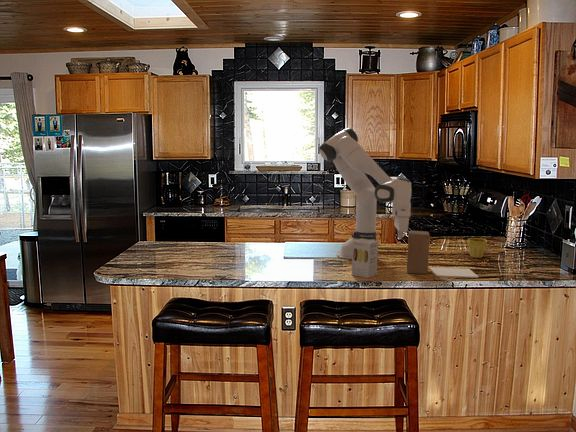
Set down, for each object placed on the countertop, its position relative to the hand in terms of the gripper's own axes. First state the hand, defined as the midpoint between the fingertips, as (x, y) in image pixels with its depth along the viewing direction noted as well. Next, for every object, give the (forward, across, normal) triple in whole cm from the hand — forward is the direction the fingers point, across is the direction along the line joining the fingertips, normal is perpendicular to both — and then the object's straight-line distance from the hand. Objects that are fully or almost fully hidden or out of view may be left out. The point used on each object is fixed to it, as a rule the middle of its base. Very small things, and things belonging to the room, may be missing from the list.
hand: (399, 238), depth 281 cm
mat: (+17, 0, +27) cm, 32 cm away
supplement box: (+17, +9, -18) cm, 26 cm away
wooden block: (+17, 0, +9) cm, 19 cm away
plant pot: (+17, -41, +50) cm, 67 cm away
